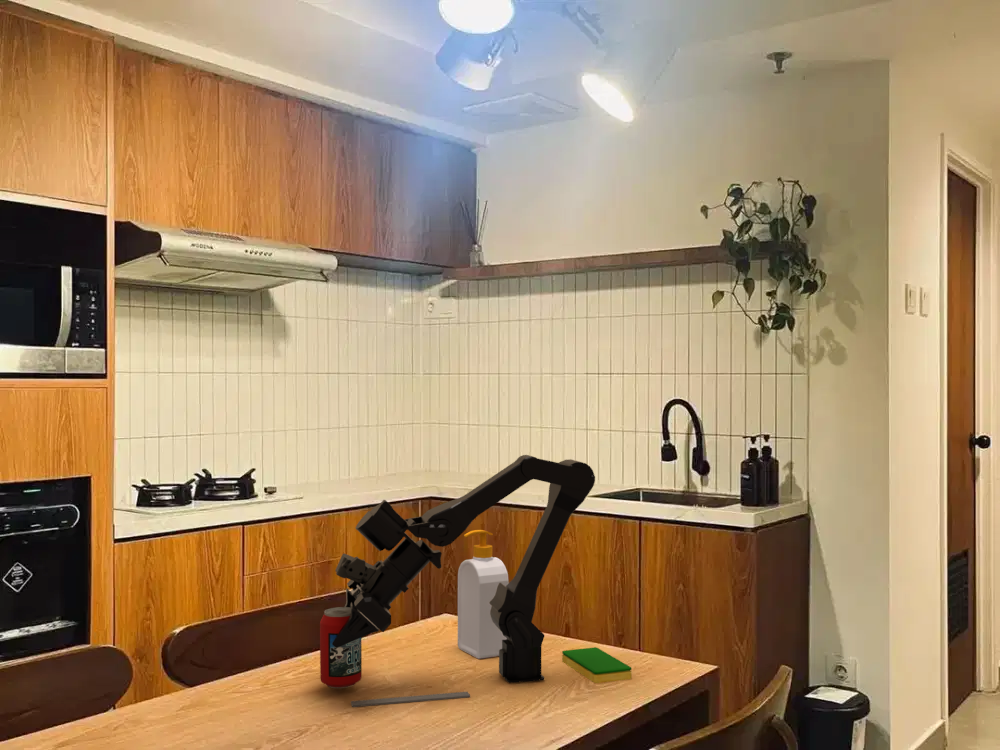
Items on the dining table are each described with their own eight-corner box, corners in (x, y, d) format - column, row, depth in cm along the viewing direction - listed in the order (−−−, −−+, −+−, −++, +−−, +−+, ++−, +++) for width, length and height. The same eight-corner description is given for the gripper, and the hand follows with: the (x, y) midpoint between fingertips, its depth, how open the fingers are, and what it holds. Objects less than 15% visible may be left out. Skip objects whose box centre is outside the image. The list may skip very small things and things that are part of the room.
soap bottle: (453, 648, 184) (454, 528, 185) (485, 643, 188) (486, 526, 188) (475, 660, 177) (476, 535, 177) (508, 655, 180) (509, 532, 180)
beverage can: (339, 692, 155) (339, 617, 155) (311, 684, 159) (311, 611, 159) (370, 682, 160) (369, 609, 160) (342, 675, 164) (341, 604, 164)
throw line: (467, 693, 158) (467, 691, 158) (470, 697, 156) (470, 695, 156) (350, 703, 153) (350, 701, 153) (352, 707, 151) (352, 705, 151)
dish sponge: (595, 686, 163) (595, 671, 163) (561, 663, 176) (561, 650, 176) (632, 681, 166) (632, 667, 166) (596, 659, 179) (596, 646, 179)
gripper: (359, 528, 170) (295, 595, 167) (369, 546, 151) (298, 621, 149) (404, 571, 171) (342, 637, 169) (420, 593, 153) (350, 668, 151)
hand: (332, 640), depth 159 cm, fingers closed on beverage can, 7 cm apart
